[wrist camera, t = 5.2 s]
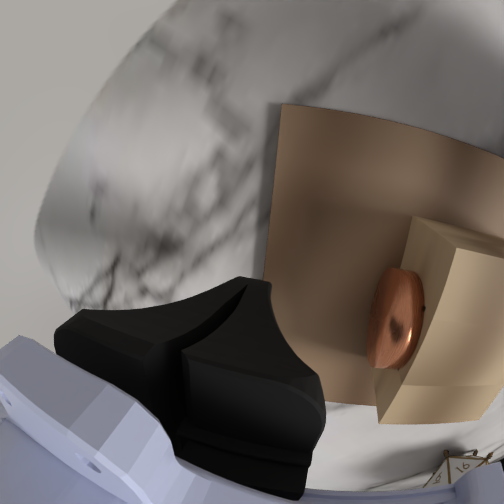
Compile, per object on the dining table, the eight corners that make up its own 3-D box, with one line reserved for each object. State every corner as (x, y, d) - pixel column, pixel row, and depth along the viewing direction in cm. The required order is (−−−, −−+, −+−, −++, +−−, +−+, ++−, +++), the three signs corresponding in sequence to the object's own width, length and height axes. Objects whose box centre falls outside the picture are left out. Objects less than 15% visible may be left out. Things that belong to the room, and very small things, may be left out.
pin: (527, 281, 10) (566, 315, 6) (501, 343, 12) (529, 385, 8) (385, 253, 12) (410, 295, 8) (362, 331, 13) (372, 388, 10)
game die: (428, 440, 21) (377, 512, 15) (485, 412, 15) (439, 508, 9) (468, 476, 16) (424, 545, 11) (524, 454, 11) (486, 541, 5)
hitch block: (537, 176, 9) (598, 193, 4) (453, 400, 14) (470, 456, 10) (283, 106, 12) (259, 74, 7) (251, 381, 17) (228, 446, 12)
